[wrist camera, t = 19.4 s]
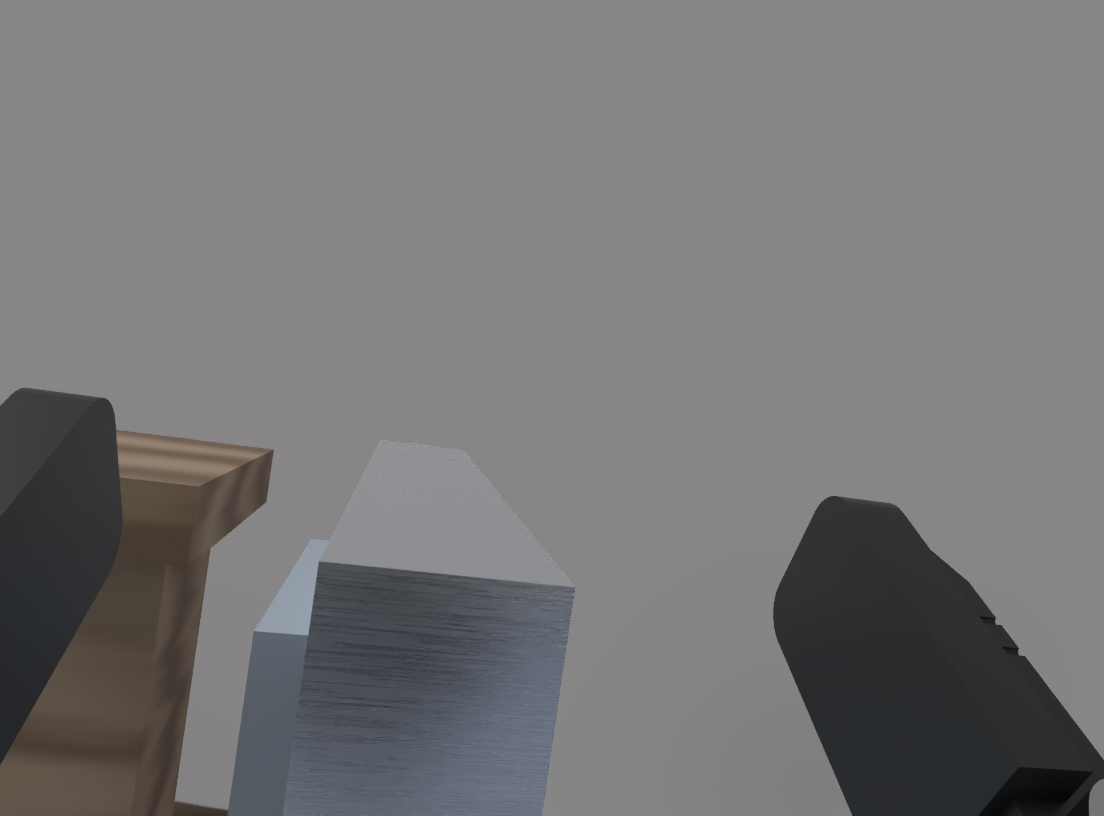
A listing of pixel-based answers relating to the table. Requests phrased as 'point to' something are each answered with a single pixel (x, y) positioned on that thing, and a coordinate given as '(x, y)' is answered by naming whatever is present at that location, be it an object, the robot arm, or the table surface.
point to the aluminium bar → (429, 650)
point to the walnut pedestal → (135, 639)
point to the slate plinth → (274, 693)
